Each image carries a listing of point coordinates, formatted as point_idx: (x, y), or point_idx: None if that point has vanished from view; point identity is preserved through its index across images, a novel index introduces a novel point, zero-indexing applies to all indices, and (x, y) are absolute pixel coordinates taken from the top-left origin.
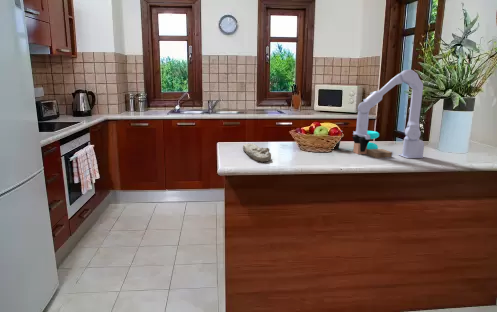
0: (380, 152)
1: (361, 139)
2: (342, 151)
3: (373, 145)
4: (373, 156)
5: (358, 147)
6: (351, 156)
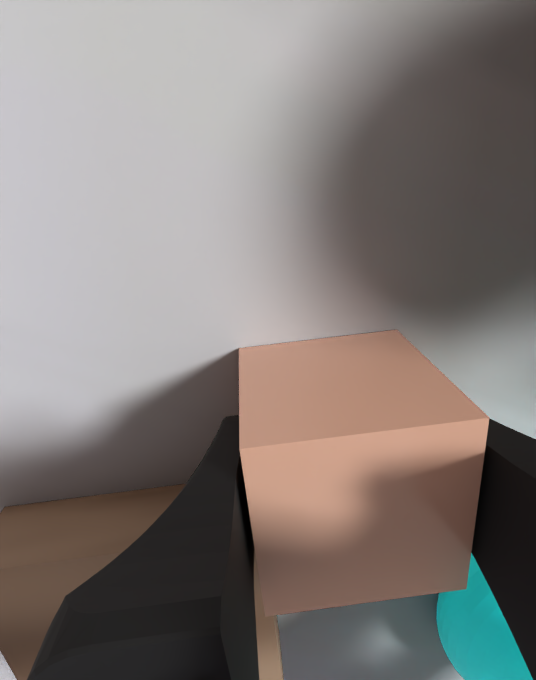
0: (11, 634)
1: (39, 654)
2: (484, 141)
3: (482, 673)
4: (54, 506)
5: (241, 415)
6: (21, 159)
